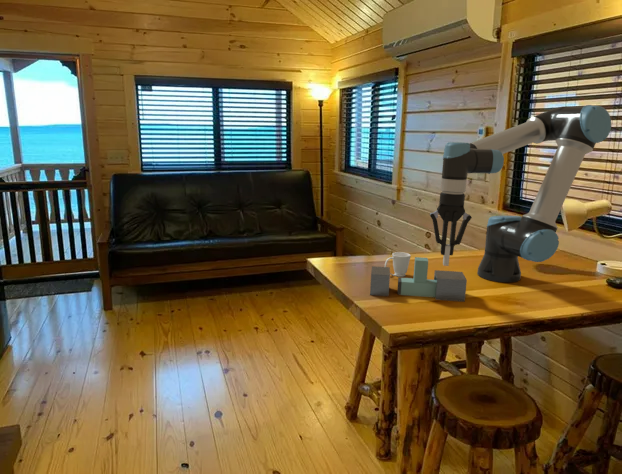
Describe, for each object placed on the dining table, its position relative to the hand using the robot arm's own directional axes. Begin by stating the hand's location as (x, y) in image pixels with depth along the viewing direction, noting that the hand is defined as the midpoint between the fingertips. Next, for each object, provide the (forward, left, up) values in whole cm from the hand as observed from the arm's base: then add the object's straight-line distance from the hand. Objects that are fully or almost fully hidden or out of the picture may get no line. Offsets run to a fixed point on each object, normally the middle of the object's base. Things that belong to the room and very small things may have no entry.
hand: (445, 264), depth 153 cm
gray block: (-2, 0, -11) cm, 11 cm away
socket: (+21, 0, -11) cm, 23 cm away
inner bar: (+4, 0, -11) cm, 11 cm away
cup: (+15, -19, -11) cm, 26 cm away
